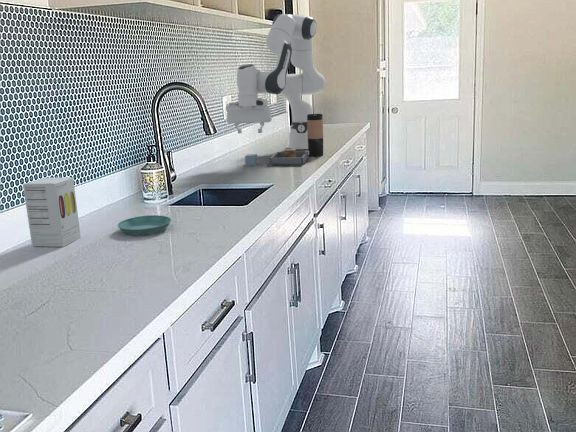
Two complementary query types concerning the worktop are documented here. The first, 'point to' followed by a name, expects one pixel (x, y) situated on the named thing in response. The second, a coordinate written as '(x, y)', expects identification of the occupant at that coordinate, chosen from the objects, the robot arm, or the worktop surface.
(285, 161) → the charcoal tray
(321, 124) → the travel mug
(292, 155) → the walnut block
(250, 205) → the worktop surface
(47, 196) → the supplement box
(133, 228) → the saucer
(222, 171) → the worktop surface
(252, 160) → the slate block
